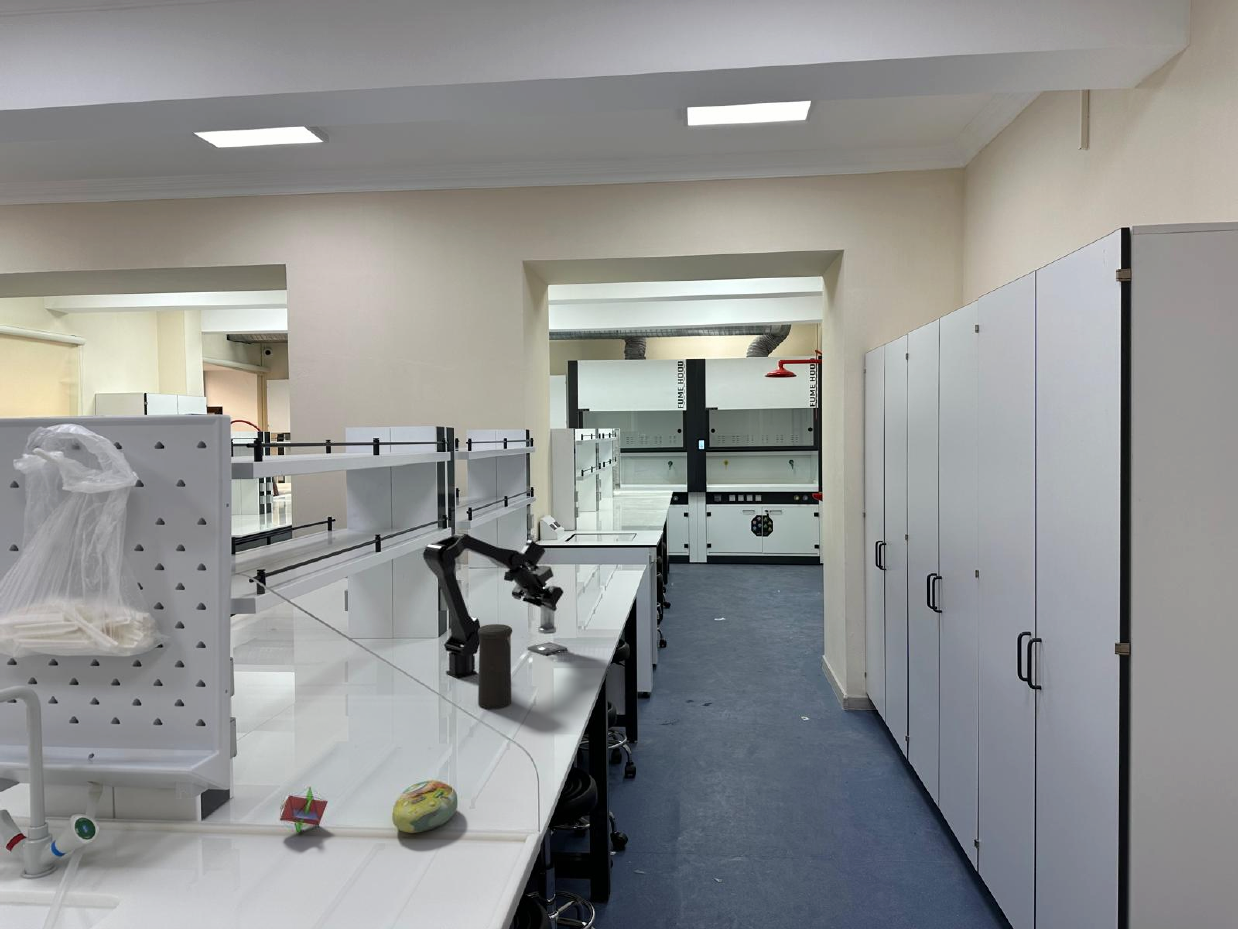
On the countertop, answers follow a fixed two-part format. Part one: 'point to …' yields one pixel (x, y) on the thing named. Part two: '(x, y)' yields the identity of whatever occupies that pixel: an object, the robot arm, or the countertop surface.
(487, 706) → the container
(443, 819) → the cell model
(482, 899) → the countertop surface
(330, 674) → the countertop surface
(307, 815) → the geometric puzzle
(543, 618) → the sleeve
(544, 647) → the base plate
